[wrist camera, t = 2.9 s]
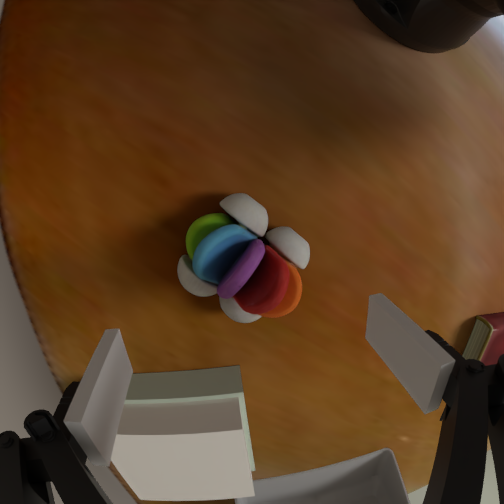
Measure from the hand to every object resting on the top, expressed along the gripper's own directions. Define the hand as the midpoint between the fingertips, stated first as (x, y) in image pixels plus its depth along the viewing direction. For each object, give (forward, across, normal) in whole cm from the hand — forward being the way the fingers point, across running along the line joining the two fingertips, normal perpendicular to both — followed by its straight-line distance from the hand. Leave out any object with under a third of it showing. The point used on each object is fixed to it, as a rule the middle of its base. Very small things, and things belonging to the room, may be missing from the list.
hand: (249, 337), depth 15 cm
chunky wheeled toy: (+12, +1, +1) cm, 12 cm away
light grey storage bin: (+12, +8, -42) cm, 45 cm away
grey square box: (+12, -8, -18) cm, 23 cm away
